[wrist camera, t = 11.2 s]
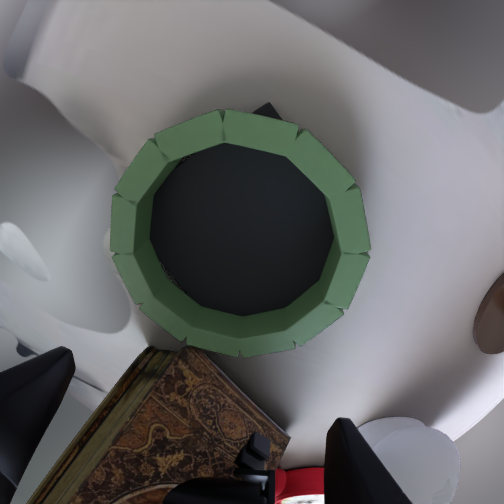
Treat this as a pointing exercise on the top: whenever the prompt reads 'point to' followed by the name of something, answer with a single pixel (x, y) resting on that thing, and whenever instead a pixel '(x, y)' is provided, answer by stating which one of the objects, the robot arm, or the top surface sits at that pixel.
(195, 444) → the book
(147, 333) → the top surface
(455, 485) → the figurine
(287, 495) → the alarm clock
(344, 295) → the ring
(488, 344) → the ring stand
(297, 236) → the mat
